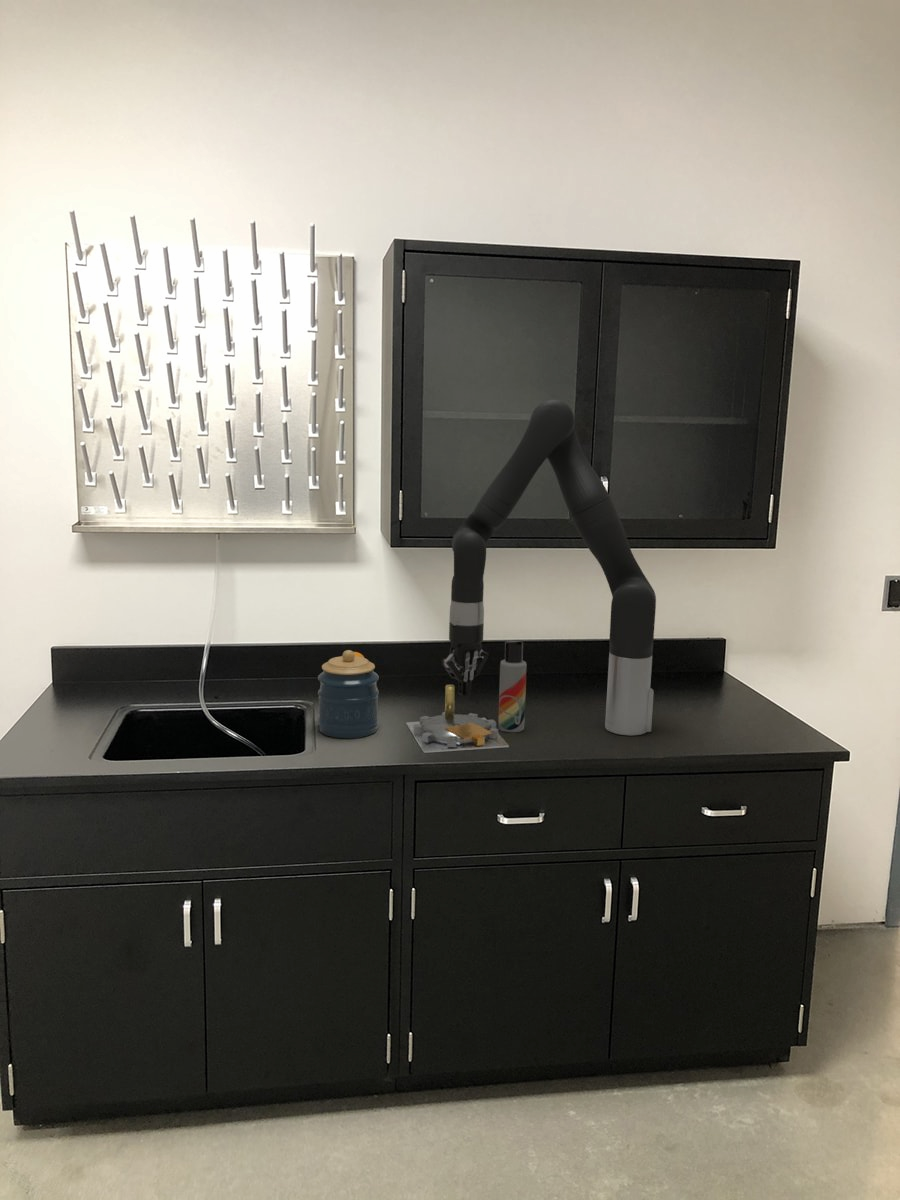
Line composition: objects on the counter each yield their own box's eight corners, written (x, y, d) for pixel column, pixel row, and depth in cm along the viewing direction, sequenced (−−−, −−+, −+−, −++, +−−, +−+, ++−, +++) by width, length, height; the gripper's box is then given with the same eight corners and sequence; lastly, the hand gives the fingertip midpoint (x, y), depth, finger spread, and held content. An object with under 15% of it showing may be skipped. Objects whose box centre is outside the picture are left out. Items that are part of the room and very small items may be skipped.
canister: (310, 737, 198) (310, 656, 194) (327, 717, 210) (326, 641, 207) (371, 741, 196) (371, 659, 192) (384, 721, 208) (384, 644, 205)
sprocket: (485, 716, 211) (486, 679, 210) (509, 743, 194) (510, 704, 193) (405, 720, 207) (406, 683, 205) (423, 749, 190) (423, 709, 188)
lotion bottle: (508, 734, 202) (511, 644, 198) (493, 726, 206) (495, 638, 202) (529, 730, 205) (532, 641, 201) (513, 722, 210) (516, 635, 206)
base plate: (484, 719, 211) (484, 717, 211) (508, 747, 194) (508, 745, 194) (406, 724, 207) (406, 722, 207) (423, 752, 190) (423, 751, 190)
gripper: (475, 613, 212) (473, 687, 216) (432, 621, 203) (431, 698, 207) (499, 619, 207) (497, 694, 210) (456, 627, 198) (454, 706, 201)
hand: (464, 696), depth 209 cm, fingers closed
